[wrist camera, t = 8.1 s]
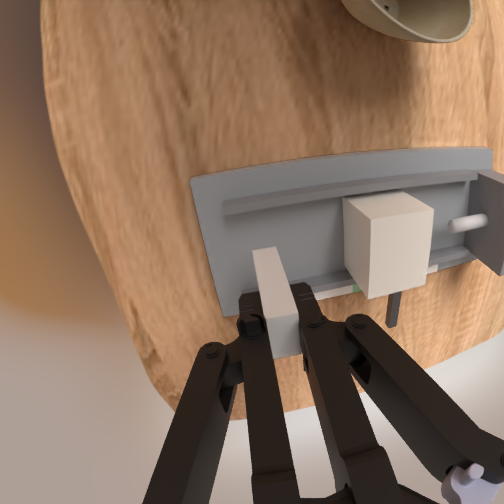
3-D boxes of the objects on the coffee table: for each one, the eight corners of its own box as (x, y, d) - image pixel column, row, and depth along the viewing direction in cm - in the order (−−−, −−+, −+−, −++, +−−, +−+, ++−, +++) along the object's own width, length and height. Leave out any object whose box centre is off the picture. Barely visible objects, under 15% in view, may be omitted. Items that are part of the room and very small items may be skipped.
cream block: (342, 196, 22) (370, 219, 17) (398, 188, 22) (433, 209, 17) (344, 299, 26) (364, 335, 21) (392, 287, 26) (418, 319, 22)
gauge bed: (191, 177, 21) (177, 207, 15) (484, 146, 22) (537, 164, 15) (223, 309, 27) (224, 368, 20) (474, 253, 27) (514, 285, 21)
